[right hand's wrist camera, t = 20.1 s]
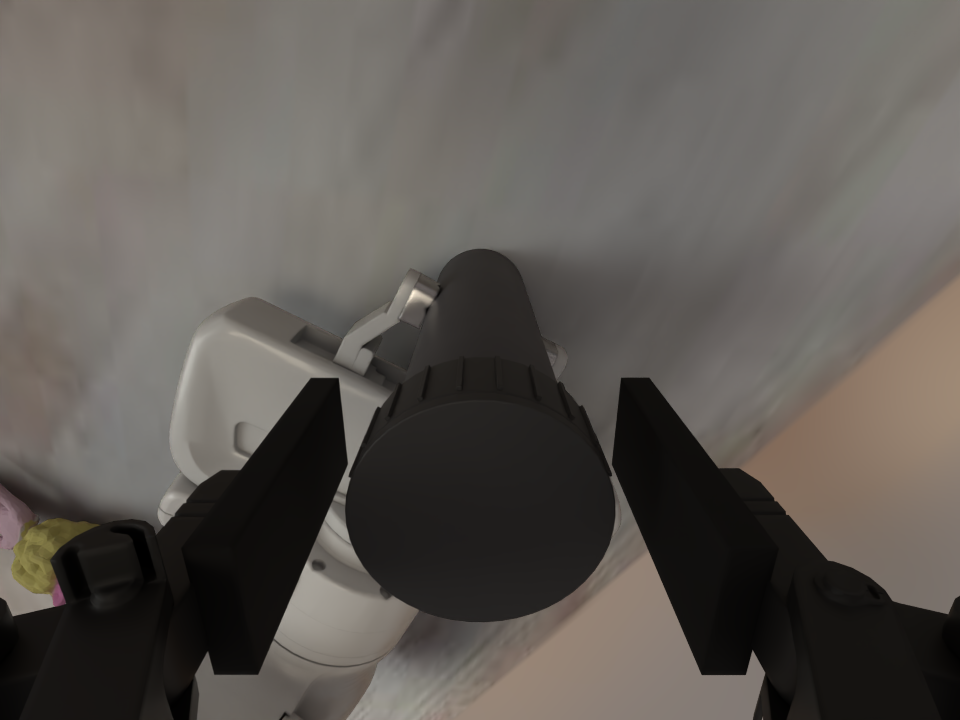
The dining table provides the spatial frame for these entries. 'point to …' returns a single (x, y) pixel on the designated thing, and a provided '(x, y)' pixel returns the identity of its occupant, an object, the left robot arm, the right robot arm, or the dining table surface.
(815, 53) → the dining table surface
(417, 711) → the dining table surface
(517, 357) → the dark grey tall cylinder
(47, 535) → the figurine
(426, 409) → the lid
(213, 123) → the dining table surface
